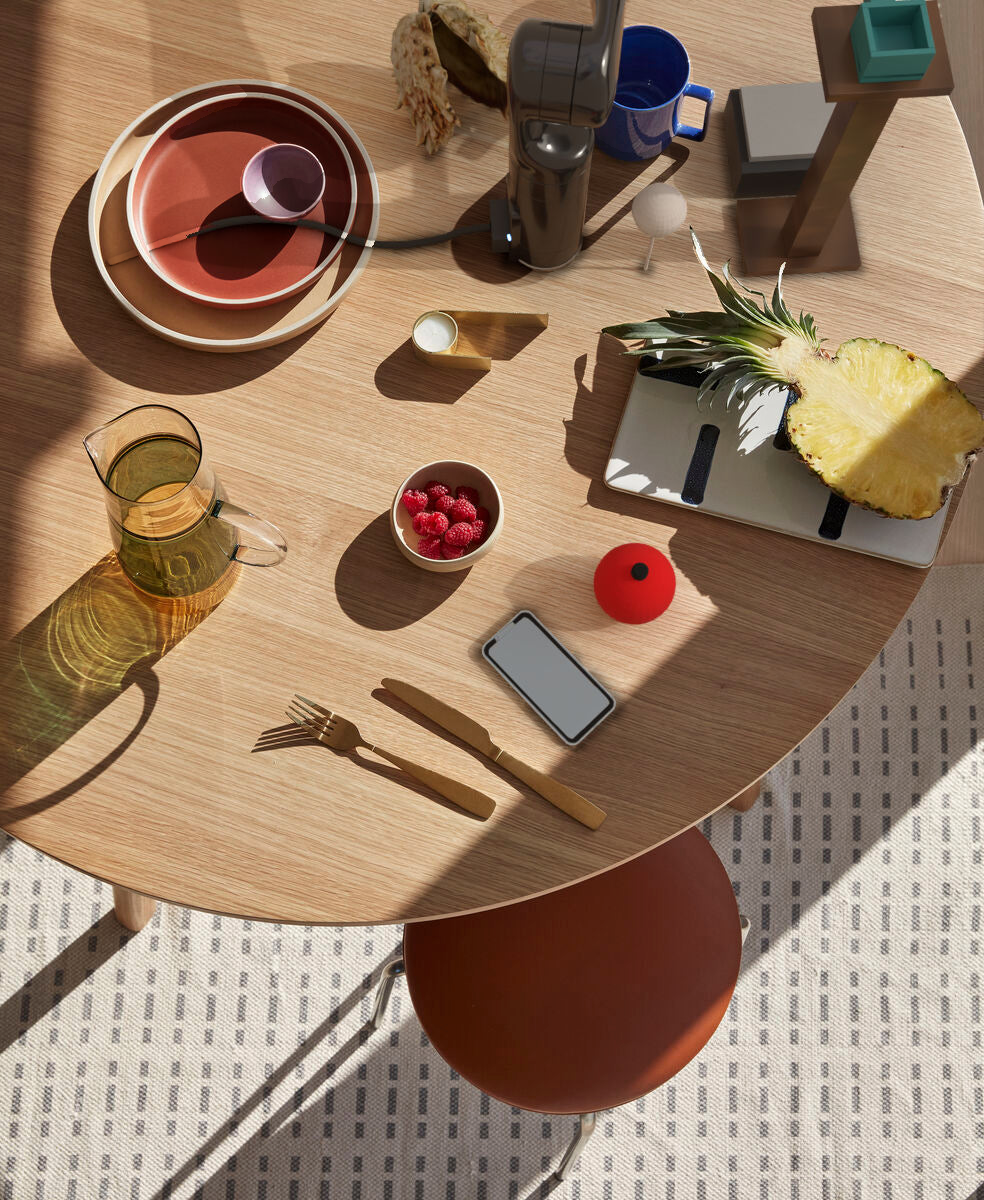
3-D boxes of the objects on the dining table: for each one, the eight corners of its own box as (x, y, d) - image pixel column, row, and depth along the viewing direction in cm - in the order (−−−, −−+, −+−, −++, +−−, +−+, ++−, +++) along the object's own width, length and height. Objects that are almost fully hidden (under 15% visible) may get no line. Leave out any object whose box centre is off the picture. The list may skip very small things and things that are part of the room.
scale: (733, 198, 138) (744, 168, 132) (722, 116, 141) (731, 83, 135) (845, 191, 138) (860, 161, 132) (831, 109, 141) (845, 76, 135)
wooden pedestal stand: (744, 277, 135) (818, 95, 104) (734, 205, 137) (803, 7, 106) (858, 269, 135) (965, 86, 104) (846, 198, 137) (947, -2, 106)
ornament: (659, 642, 123) (672, 621, 114) (581, 620, 124) (588, 598, 114) (677, 567, 125) (692, 541, 116) (601, 547, 126) (609, 519, 116)
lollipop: (672, 249, 136) (692, 173, 121) (669, 292, 134) (689, 220, 120) (621, 245, 136) (636, 169, 121) (618, 288, 134) (632, 215, 120)
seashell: (436, 86, 120) (556, 50, 124) (368, -28, 125) (485, -58, 129) (427, 199, 137) (533, 165, 141) (366, 95, 142) (470, 65, 146)
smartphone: (571, 749, 120) (477, 650, 122) (571, 750, 120) (477, 652, 123) (620, 703, 121) (525, 606, 123) (619, 704, 122) (525, 607, 124)
